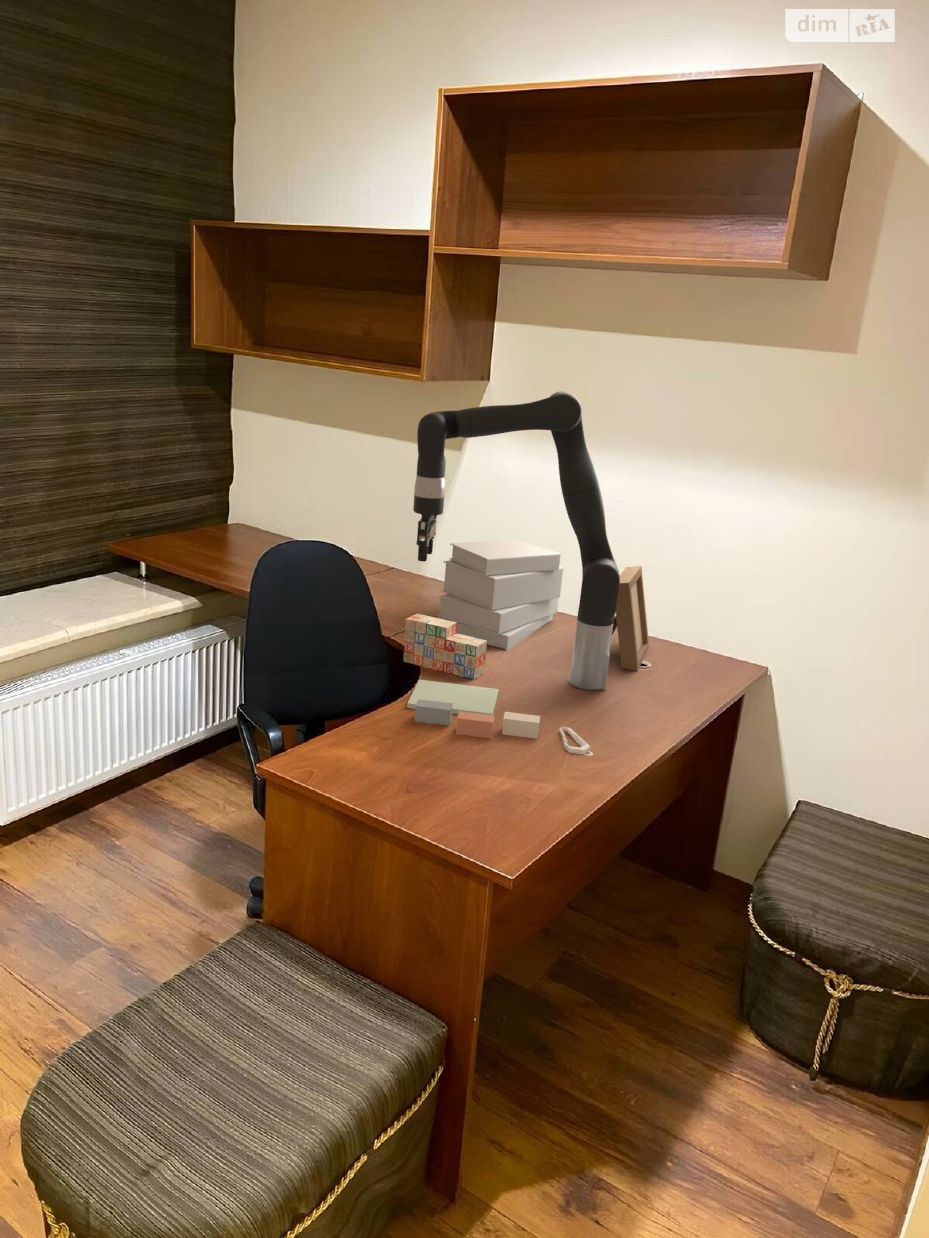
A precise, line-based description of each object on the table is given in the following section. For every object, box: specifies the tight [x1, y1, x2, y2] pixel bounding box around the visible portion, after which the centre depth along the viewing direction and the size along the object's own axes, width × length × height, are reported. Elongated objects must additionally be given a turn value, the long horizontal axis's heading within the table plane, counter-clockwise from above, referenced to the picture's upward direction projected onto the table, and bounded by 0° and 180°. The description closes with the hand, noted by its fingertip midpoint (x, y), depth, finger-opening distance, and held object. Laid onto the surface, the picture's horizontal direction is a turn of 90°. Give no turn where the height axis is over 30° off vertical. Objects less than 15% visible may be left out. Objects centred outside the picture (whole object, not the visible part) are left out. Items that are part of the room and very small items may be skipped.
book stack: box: [436, 538, 564, 651], centre depth 276 cm, size 30×35×26 cm
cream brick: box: [501, 711, 541, 739], centre depth 209 cm, size 8×4×4 cm, turn 83°
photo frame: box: [612, 565, 650, 672], centre depth 261 cm, size 15×22×25 cm
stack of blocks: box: [402, 613, 487, 680], centre depth 244 cm, size 21×6×12 cm, turn 62°
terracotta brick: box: [455, 711, 496, 739], centre depth 207 cm, size 8×4×4 cm, turn 83°
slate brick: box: [414, 699, 453, 726], centre depth 212 cm, size 8×4×4 cm, turn 83°
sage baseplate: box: [406, 679, 499, 715], centre depth 224 cm, size 20×16×1 cm
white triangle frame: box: [558, 726, 594, 757], centre depth 206 cm, size 13×5×2 cm, turn 21°
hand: (425, 557), depth 238 cm, fingers open, 8 cm apart
